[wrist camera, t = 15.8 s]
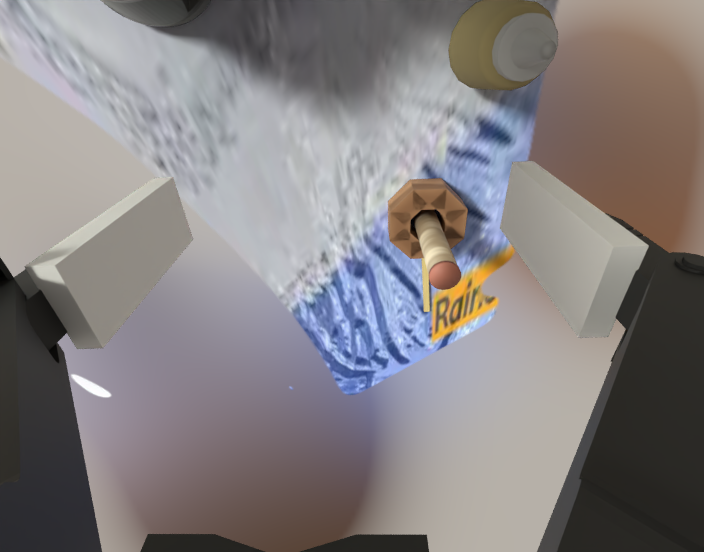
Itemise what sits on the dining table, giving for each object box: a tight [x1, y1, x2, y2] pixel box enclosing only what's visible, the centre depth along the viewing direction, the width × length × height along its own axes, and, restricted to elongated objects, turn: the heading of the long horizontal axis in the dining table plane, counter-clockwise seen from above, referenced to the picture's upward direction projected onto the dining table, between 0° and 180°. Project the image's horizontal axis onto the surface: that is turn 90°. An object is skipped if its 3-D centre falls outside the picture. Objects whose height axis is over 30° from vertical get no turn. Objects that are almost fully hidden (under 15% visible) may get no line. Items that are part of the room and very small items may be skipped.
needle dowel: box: [413, 209, 461, 290], centre depth 45 cm, size 3×3×16 cm
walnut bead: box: [388, 178, 468, 259], centre depth 50 cm, size 10×10×4 cm
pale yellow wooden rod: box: [422, 258, 430, 312], centre depth 58 cm, size 11×1×1 cm, turn 8°
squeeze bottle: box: [448, 0, 558, 90], centre depth 33 cm, size 8×8×18 cm
